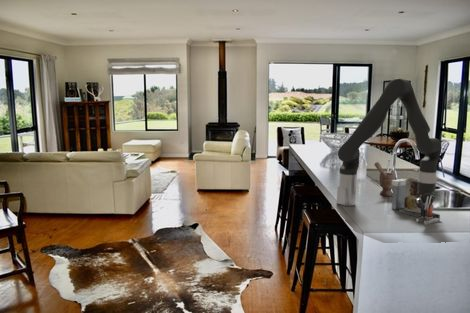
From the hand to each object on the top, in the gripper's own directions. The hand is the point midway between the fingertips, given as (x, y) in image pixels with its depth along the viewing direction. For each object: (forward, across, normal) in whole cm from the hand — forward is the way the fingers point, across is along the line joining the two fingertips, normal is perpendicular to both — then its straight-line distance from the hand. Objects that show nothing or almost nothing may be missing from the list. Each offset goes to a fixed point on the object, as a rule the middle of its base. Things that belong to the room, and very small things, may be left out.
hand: (423, 216), depth 180 cm
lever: (+3, +5, 0) cm, 5 cm away
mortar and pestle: (+3, +26, +42) cm, 49 cm away
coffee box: (+2, +10, +11) cm, 15 cm away
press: (+3, +7, +10) cm, 13 cm away
